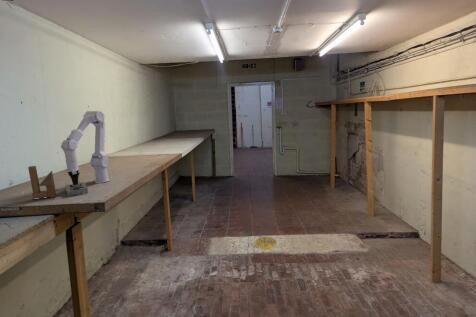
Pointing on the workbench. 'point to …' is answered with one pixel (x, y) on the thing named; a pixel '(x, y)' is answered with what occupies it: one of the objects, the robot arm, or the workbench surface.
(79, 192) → the socket plate
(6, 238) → the workbench surface
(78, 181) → the block
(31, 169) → the wooden stand
